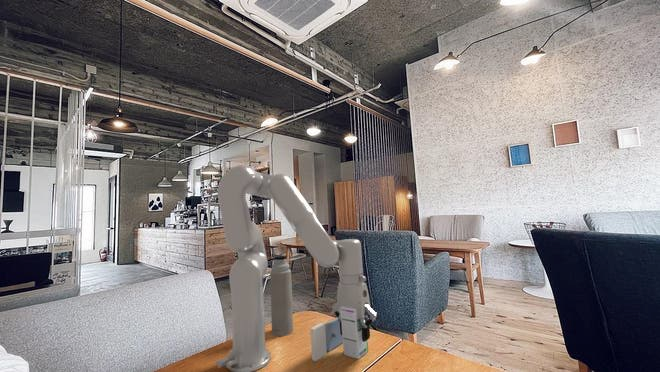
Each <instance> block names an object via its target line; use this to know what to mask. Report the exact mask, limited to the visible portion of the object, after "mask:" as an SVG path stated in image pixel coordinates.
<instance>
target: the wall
mask: <svg viewBox="0 0 660 372" xmlns="http://www.w3.org/2000/svg"><path fill="white" fill-rule="evenodd" d="M325 324H326V323H324V322H321V323H318V324H316V325H315V326H312V327H311V328H310V344H311V360H312V361H314V362H317V361H319V360H320V359H322V358H323V357H324V356H326V355H327V352H328V351H327V350H326V330H325Z"/></svg>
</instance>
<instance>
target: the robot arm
mask: <svg viewBox="0 0 660 372" xmlns="http://www.w3.org/2000/svg"><path fill="white" fill-rule="evenodd" d="M246 195H251V196H256V197H259V198H260V197H261V198H265V199H270V200H272V201H274V203H275V205H276V206H277V208H278V209H279V210H280V212H281V214H283V216H284V217H285V219H286V220H287V222H288V223H289V225H290V226H291V228H292V230H293V231H294V232H295V234H296V235H297V236H298V238H299V239H300V241H301V242H302V244H303V245H304V247H305V248H306V250H307V252H308V253H309V254H310V255H311V257H312V259H313V260H314V261H315V262H316V263H317V265H319V266H320V267H322V268H326V269H328V268H332V267H333V266H335V265H336V264H337V262H338V269H339V270H338V272H339V273H338V274H339V282H338V283H337V284H338V285H337V297H336V299H337V301H336V302H335V303H333V305H331V307H332V310H333V312H334V315H335V316H336V318H338V321H339V322H340V334H341V335H342V323H341V308H340V307H342V306H345V307H351V308H354V309H356V313H357V318H358V319H360V321H361V323H362V325H363V327H362V341H363V342H365V341H368V340H369V339H370V337H371V328H370V326H372V324H373V323H374V322H375V320H376V318H377V317H378V313H377V312H376V311H375V310H373V308H372V307H371V301H370V295H369V290H368V286H367V283H366V281H367V277H366V276H364V271H363V269H364V267H363V254H362V244H361V241H360V240H359V239H356V238H348V239H347V238H345V239H341V240H335V239H331V237H330V236H329V234H328V233H327V232H326V230H325V228H324V227H323V225H322V224H321V223H320V221H319V220H318V218H317V216H316V214H315V211H313V209H312V207H311V205H310V204H309V202H308V201H307V200H306V198H305V197H304V195H303V194H302V193H301V192H300V190H299V189H298V187H297V186H296V184H295V183H294V181H293V180H292V179H291V178H290V177H289V176H288V175H286V174H283V173H277V174H274V175H272V174H269V173H268V174H267V173H263V172H259V171H257V170H255V169H254V168H252V167H250V166H248V165H243V164H241V165H239V164H238V165H236V166H233V167H231V168H229V170H227V171H226V172H225V173H224V174H223V176H222V177H221V179H220V181H219V183H218V186H217V199H218V205H219V209H220V210H219V211H220V214H221V221H222V228H223V233H224V236H225V243H226V245H227V247H228V248H229V249H230V250H231V251H232V252H234V253H237V257H238V259H237V260H235V261H234V263H233V264H232V266H231V267H230V270H229V271H230V272H229V274H228V275H229V276H228V277H229V286H230V287H229V288H230V293H231V318H232V319H231V326H232V327H231V329H232V348H231V349H229V350H228V351H229V352H228V354H227V355H226V356H225V357H223V358H220V359H218V360H216V366H217V367H216V368H217V369H220V368H223V367H224V366H225V367H226V368H227V369H228V371H230V372H255V371H257V370H260V369H262V368H263V367H265V366H267V364H268V363H269V362H270V361H271V351H269V350H268V349H267V348H266V333H265V331H266V325H265V324H266V323H265V319H266V318H265V298H264V286H263V277H264V276H265V275H266V273H267V270H268V267H269V266H268V265H269V263H268V257H267V252H266V247H265V242H264V238H263V234H262V230H261V229H260V227H259V225H258V224H256V223H255V222H252V217H251V214H250V209H249V206H248V202H247V199H246V198H247V197H246ZM369 316H370V317H369ZM364 319H365V320H364ZM365 321H366V322H365Z"/></svg>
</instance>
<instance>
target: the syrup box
mask: <svg viewBox="0 0 660 372" xmlns="http://www.w3.org/2000/svg"><path fill="white" fill-rule="evenodd" d="M340 308H341V323H342V337H343V343H342V348H343V355H345V356H348V357H350V358H352V359H353V358H354V359H356V360H360V359H361V358H362V357H363V356H364V355H365V354H366V353H368V352H369V344H368V343H369V342H368V340H367V341H365V342H363V341H362V327H363V325H362V323H361V321H360V319H358V318H357V313H356V309H354V308H351V307H345V306H342V307H340ZM364 320H365V319H364ZM365 322H366V321H365Z"/></svg>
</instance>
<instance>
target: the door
mask: <svg viewBox="0 0 660 372" xmlns="http://www.w3.org/2000/svg"><path fill="white" fill-rule="evenodd" d="M324 324H325V330H326V351H327V352H331V351H332V350H334V349H336V347H338V346H340V345H341V344H343V337H342V335H341V334H340V322H339V321H338V318H337V317H335V318H333V319H332V320H329V321H328V322H325V323H324Z"/></svg>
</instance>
